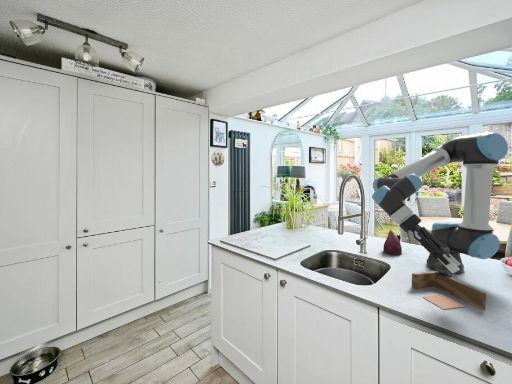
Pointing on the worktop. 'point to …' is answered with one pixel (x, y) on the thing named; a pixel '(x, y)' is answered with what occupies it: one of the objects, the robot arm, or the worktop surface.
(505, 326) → the worktop surface
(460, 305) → the tile
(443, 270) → the grey stone statuette
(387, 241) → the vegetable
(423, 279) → the wooden corner wall
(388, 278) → the worktop surface
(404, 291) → the worktop surface
